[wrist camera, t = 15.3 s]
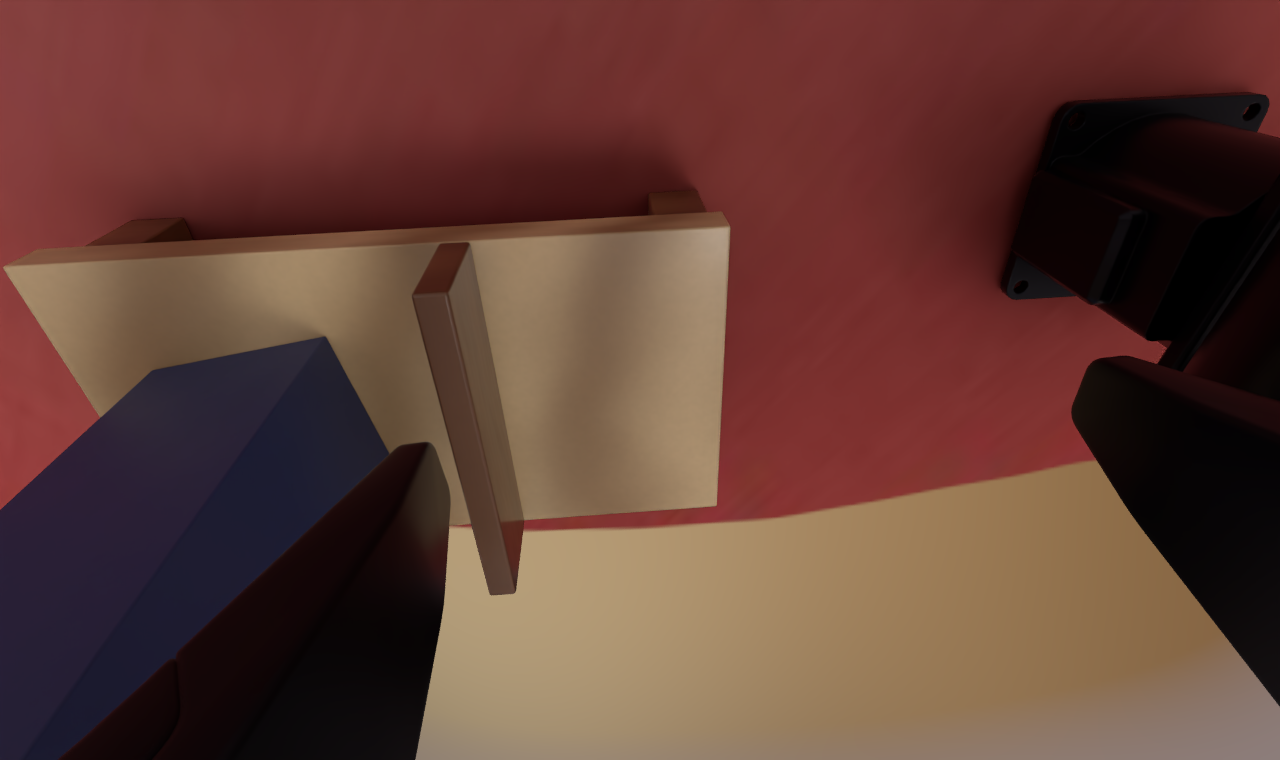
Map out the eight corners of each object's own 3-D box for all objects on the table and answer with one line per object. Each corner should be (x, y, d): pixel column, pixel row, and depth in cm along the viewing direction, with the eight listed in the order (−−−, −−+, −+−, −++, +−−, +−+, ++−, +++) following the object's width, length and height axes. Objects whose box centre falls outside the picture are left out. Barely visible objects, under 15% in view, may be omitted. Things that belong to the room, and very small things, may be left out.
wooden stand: (704, 176, 20) (757, 274, 13) (697, 426, 25) (733, 578, 19) (117, 207, 19) (-115, 325, 13) (244, 457, 24) (126, 624, 18)
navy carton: (326, 335, 17) (-104, 935, 6) (405, 481, 20) (201, 1049, 9) (151, 369, 17) (-541, 1003, 7) (256, 509, 20) (-104, 1092, 10)
